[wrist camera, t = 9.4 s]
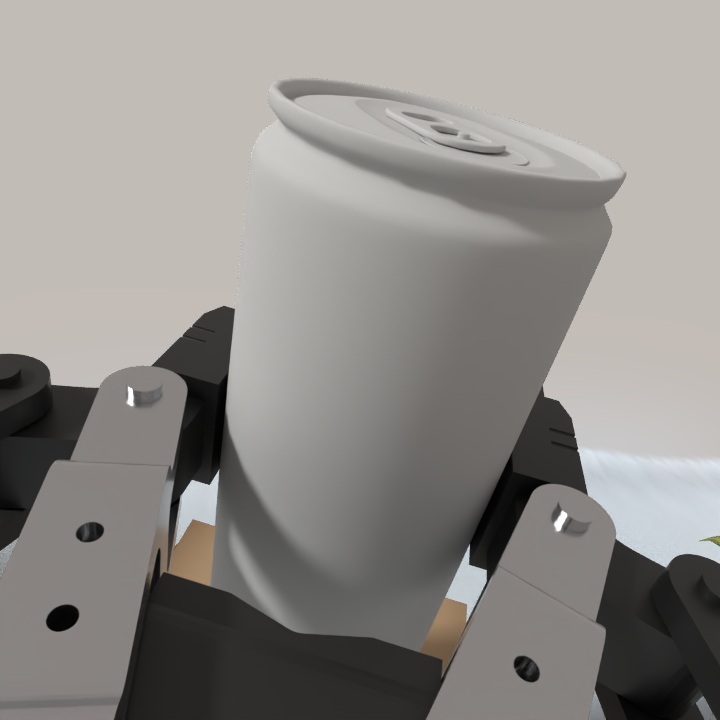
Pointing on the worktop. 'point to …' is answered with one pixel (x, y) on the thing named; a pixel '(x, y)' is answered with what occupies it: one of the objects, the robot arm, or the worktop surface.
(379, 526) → the beverage can
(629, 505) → the worktop surface
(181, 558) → the stand
